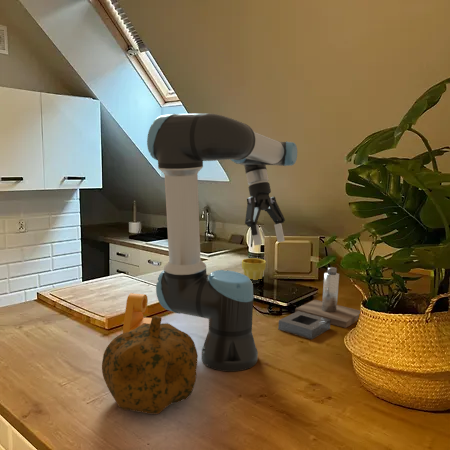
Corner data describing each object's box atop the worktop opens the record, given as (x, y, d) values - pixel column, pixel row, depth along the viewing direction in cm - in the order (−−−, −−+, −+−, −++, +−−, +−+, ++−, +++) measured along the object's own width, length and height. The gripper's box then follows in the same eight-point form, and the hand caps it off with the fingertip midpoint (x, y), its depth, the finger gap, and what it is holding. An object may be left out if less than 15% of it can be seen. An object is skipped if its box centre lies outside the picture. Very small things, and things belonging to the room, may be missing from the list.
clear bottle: (332, 313, 154) (335, 270, 151) (319, 310, 157) (322, 268, 154) (338, 310, 157) (342, 268, 155) (325, 306, 161) (328, 265, 158)
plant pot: (256, 287, 190) (257, 264, 188) (236, 282, 196) (237, 260, 194) (269, 282, 198) (270, 260, 196) (250, 278, 204) (250, 257, 202)
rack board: (345, 328, 146) (346, 322, 146) (295, 314, 158) (295, 308, 158) (363, 317, 157) (363, 311, 157) (314, 304, 169) (314, 299, 169)
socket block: (311, 339, 136) (312, 330, 136) (278, 329, 144) (278, 320, 143) (330, 328, 145) (330, 319, 145) (297, 319, 153) (298, 311, 152)
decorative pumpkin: (107, 374, 110) (113, 296, 106) (193, 380, 112) (201, 304, 108) (88, 425, 90) (94, 333, 87) (193, 432, 92) (203, 341, 88)
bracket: (145, 340, 133) (145, 301, 132) (123, 337, 135) (122, 298, 133) (158, 326, 144) (158, 290, 142) (137, 324, 145) (136, 288, 143)
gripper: (270, 187, 170) (281, 242, 168) (227, 186, 152) (239, 248, 149) (287, 182, 165) (298, 238, 163) (244, 180, 147) (256, 244, 145)
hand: (270, 243), depth 156 cm, fingers open, 13 cm apart
